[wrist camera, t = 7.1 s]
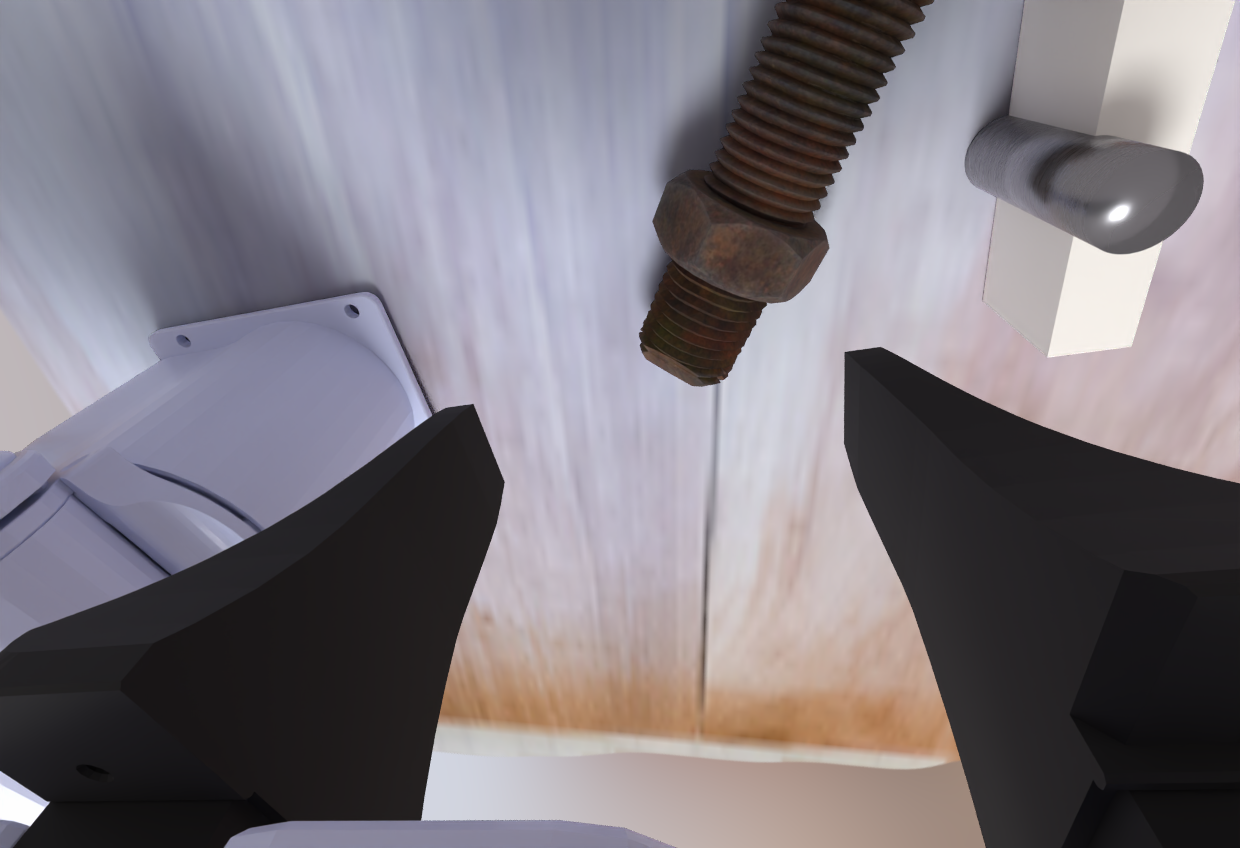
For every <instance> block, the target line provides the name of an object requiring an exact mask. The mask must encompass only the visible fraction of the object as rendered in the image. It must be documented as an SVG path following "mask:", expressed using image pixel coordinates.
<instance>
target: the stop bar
mask: <svg viewBox="0 0 1240 848" xmlns="http://www.w3.org/2000/svg"><path fill="white" fill-rule="evenodd" d="M1234 3H1235V0H1025V2H1024V9H1023V16H1022V23H1021V30H1020V37H1019V44H1018V52H1017V59H1016V66H1015V73H1014V80H1013V87H1012V94H1011V101H1010V109H1009V115H1008V116H1004V117H1001V118H999V119H996V120H995V121H993V122H991V123H990V124H988V125H987V126H986V127H984V128H983V129H982V130H981V131H980V132H979V133H978V135H977V136H976V137H975V138H974V140H973V141H972V143H971V145H970V147H969V149H968V152H967V155H966V160H965V170H966V174H967V177H968V179H969V180H970V182H971V183H972V184H973V185H974V186H976V187H977V188H979V189H981V190H983V191H985V192H987V193H989V194H991V195H993V196H995V197H997V201H996V208H995V215H994V223H993V230H992V237H991V244H990V251H989V258H988V265H987V272H986V280H985V287H984V294H983V302H984V303H985V304H986V305H987V306H988V307H990V308H991V309H992V310H993V311H994V312H995V313H997V314H998V315H999V316H1000V317H1001V318H1002V319H1003V320H1005V321H1006V322H1007V323H1008V324H1009V325H1010V326H1012V327H1013V328H1014V329H1015V330H1016V331H1017V332H1018V333H1020V334H1021V335H1022V336H1023V337H1024V338H1025V339H1026V340H1028V341H1029V342H1030V343H1031V344H1032V345H1033V346H1035V347H1036V348H1037V349H1038V350H1039V351H1040V352H1041V353H1043V354H1044V355H1045V356H1046V357H1047V358H1048V357H1056V356H1064V355H1071V354H1079V353H1087V352H1094V351H1102V350H1109V349H1117V348H1125V347H1131V346H1132V343H1133V339H1134V336H1135V333H1136V329H1137V326H1138V323H1139V319H1140V316H1141V313H1142V309H1143V306H1144V303H1145V299H1146V296H1147V293H1148V289H1149V286H1150V283H1151V279H1152V276H1153V273H1154V269H1155V266H1156V263H1157V259H1158V256H1159V253H1160V249H1161V246H1162V243H1163V240H1165V239H1167V238H1168V237H1169V236H1171V235H1172V234H1173V233H1174V232H1176V231H1177V230H1178V229H1179V228H1180V227H1181V226H1182V225H1183V224H1184V223H1185V222H1186V220H1187V219H1188V218H1189V217H1190V215H1191V214H1192V212H1193V211H1194V209H1195V208H1196V206H1197V204H1198V202H1199V199H1200V197H1201V194H1202V190H1203V182H1204V181H1203V173H1202V169H1201V167H1200V165H1199V163H1198V162H1197V161H1196V160H1195V159H1194V158H1193V157H1192V156H1190V155H1189V153H1190V149H1191V146H1192V143H1193V139H1194V136H1195V133H1196V129H1197V126H1198V123H1199V119H1200V116H1201V113H1202V109H1203V106H1204V103H1205V99H1206V96H1207V93H1208V89H1209V86H1210V83H1211V79H1212V76H1213V73H1214V69H1215V66H1216V63H1217V59H1218V56H1219V53H1220V49H1221V46H1222V43H1223V39H1224V36H1225V33H1226V29H1227V26H1228V23H1229V19H1230V16H1231V13H1232V9H1233V6H1234Z"/></svg>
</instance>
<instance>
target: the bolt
mask: <svg viewBox="0 0 1240 848" xmlns="http://www.w3.org/2000/svg"><path fill="white" fill-rule="evenodd" d="M933 2H934V0H786V2H782V3H777V4H776V6H775V10H776V13H777V15H778V18H779V19H775V20H772V21H769V22H768V24H767V25H768V27H769V29H770V31H771V33H772V36H767V37H762V39H761V42H762V45H763V47H764V49H765V51H760V52H756V53H755V57H756V59H757V60H758V62H759V65H758V66H753V67H750V69H749V70H750V72H751V74H752V76H753V80H751V81H746V82H744V83H743V84H742V85H743V86H744V88H745V90H746V92H747V94H746V95H742V96H738V97H737V100H738V102H739V104H740V106H741V108H740V109H736V110H732V113H731V114H732V116H733V118H734V120H735V122H732V123H728V124H726V129H727V131H728V133H729V134H730V135H728V136H725V137H722V138H720V140H721V143H722V145H723V147H724V148H722V149H720V150H717V151H715V154H716V156H717V158H718V160H719V161H716V162H713V163H711V164H709V165H710V168H711V170H712V172H711V171H705V170H689V171H687V172H684V173H682V174H680V175H679V176H677V177H676V178H674V179H673V180H671V181H670V182H668V183H667V184H666V187H665V190H664V192H663V195H662V198H661V200H660V203H659V205H658V208H657V211H656V213H655V216H654V219H653V224H654V227H655V230H656V233H657V236H658V238H659V241H660V243H661V245H662V247H663V249H664V251H665V252H666V253H667V254H668V255H669V256H670V257H671V259H672V262H671V263H669V264H668V265H667V270H668V272H666V273H664V275H663V281H662V282H661V283H660V284H659V291H658V292H657V293H656V294H655V300H654V301H653V302H652V304H651V310H650V311H648V315H647V318H646V319H645V320H644V322H643V327H642V328H641V331H643V332H640V333H639V337H640V340H641V342H642V343H641V344H640V347H641V350H642V353H643V355H644V356H645V358H646V359H647V360H648V361H650V362H652V363H653V364H655V365H657V366H658V367H660V368H662V369H663V370H665V371H667V372H668V373H670V374H672V375H674V376H675V377H677V378H679V379H681V380H683V381H684V382H686V383H688V384H690V385H691V386H701V387H702V386H707V385H713V384H717V383H720V381H719V380H724V379H725V378H727V377H728V373H729V372H730V371H731V370H732V367H733V364H734V363H735V361H736V358H737V355H738V354H739V353H740V352H741V347H743V346H744V345H745V342H746V340H747V338H748V337H749V336H750V333H751V331H752V328H753V327H754V326H755V325H756V319H758V318H760V315H761V313H762V309H763V308H764V307H766V306H767V303H779V302H786V301H788V300H790V299H792V298H793V297H794V296H796V295H797V294H798V293H799V292H800V291H801V290H802V289H803V288H804V287H805V286H806V285H807V284H808V283H809V282H810V281H811V279H812V277H813V275H814V274H815V272H816V270H817V268H818V267H819V265H820V263H821V262H822V260H823V258H824V256H825V255H826V253H827V251H828V249H829V244H828V240H827V236H826V233H825V230H824V229H823V228H822V227H821V226H820V225H819V224H818V223H817V222H816V221H815V220H814V215H813V213H812V211H815V210H818V209H820V207H821V205H820V202H819V200H818V199H821V198H824V197H826V196H827V191H826V188H825V186H828V185H832V184H834V179H833V176H832V173H836V172H840V171H841V169H842V167H841V165H840V163H839V161H838V160H842V159H846V158H848V156H849V153H848V151H847V149H846V146H850V145H855V143H856V138H855V136H854V134H853V132H858V131H862V130H863V129H864V125H863V123H862V121H861V119H860V118H864V117H868V116H871V114H872V111H871V110H870V108H869V106H868V104H870V103H873V102H877V101H878V100H879V99H880V97H879V95H878V93H877V91H876V90H875V89H877V88H880V87H883V86H886V85H887V83H888V82H887V80H886V79H885V77H884V75H883V73H886V72H889V71H892V70H894V69H895V67H896V66H895V64H894V63H893V61H892V59H891V57H894V56H897V55H900V54H903V53H904V52H905V49H904V47H903V46H902V44H901V42H900V41H903V40H907V39H911V38H913V37H914V36H915V32H914V31H913V29H912V28H911V26H910V25H912V24H915V23H918V22H921V21H923V20H924V19H925V15H924V14H923V12H922V11H921V9H920V7H922V6H925V5H929V4H932V3H933Z"/></svg>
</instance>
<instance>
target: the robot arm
mask: <svg viewBox="0 0 1240 848" xmlns="http://www.w3.org/2000/svg"><path fill="white" fill-rule="evenodd" d="M349 304H351V305H354V306H356V307H357V309H358V310H359V314H356V313H354V312H353V311H352V310H351V309H350V305H349ZM184 336H186V337H187V338H188V339H189V340H190V342H189V341H188V340H187V339H186V338H185V337H184ZM148 341H149V344H150V346H151V348H152V349H153V351H154V352H155V353H156V355H157V356H158V358H159V359H160V360H161V361H159V362H158V363H156V364H154V365H153V366H151V367H150V368H148V369H147V370H145V371H143V372H142V373H140V374H139V375H137V376H135V377H134V378H132V379H131V380H129V381H128V382H126V383H124V384H123V385H121V386H120V387H118V388H116V389H115V390H113V391H112V392H110V393H109V394H107V395H105V396H104V397H102V398H101V399H99V400H97V401H96V402H94V403H93V404H91V405H90V406H88V407H86V408H85V409H83V410H82V411H80V412H78V413H77V414H75V415H74V416H72V417H71V418H69V419H68V420H66V421H64V422H63V423H61V424H59V425H58V426H56V427H55V428H53V429H52V430H50V431H48V432H47V433H46V434H44V435H42V436H41V437H39V438H37V439H36V440H34V441H33V442H32V443H30V444H29V445H28V446H27V447H25V448H24V449H23V450H22V451H19V452H16V453H12V452H10V451H0V848H676V847H673V846H670V845H668V844H665V843H663V842H660V841H658V840H655V839H652V838H650V837H647V836H645V835H642V834H639V833H637V832H634V831H632V830H629V829H626V828H622V827H613V826H604V825H595V824H587V823H579V822H570V821H562V820H505V821H504V820H494V821H493V820H492V821H491V820H486V821H484V820H481V821H480V820H478V821H475V820H474V821H471V820H470V821H421V818H422V810H423V803H424V796H425V790H426V784H427V779H428V773H429V767H430V761H431V755H432V750H433V744H434V738H435V733H436V728H437V724H438V719H439V714H440V709H441V704H442V699H443V695H444V690H445V685H446V681H447V677H448V673H449V668H450V664H451V660H452V656H453V652H454V648H455V643H456V639H457V636H458V633H459V630H460V626H461V623H462V620H463V617H464V614H465V611H466V609H467V606H468V603H469V600H470V597H471V595H472V592H473V589H474V586H475V584H476V581H477V578H478V575H479V573H480V570H481V567H482V564H483V562H484V559H485V556H486V553H487V550H488V548H489V545H490V542H491V539H492V536H493V533H494V530H495V527H496V524H497V520H498V515H499V510H500V506H501V500H502V494H503V488H504V483H505V482H504V479H503V477H502V474H501V472H500V469H499V467H498V464H497V462H496V459H495V457H494V454H493V452H492V449H491V447H490V444H489V442H488V439H487V437H486V434H485V432H484V429H483V427H482V424H481V422H480V419H479V417H478V414H477V412H476V409H475V407H474V404H470V405H463V406H456V407H449V408H445V409H443V410H441V411H439V412H437V413H436V414H434V415H433V416H432V414H431V411H430V409H429V407H428V405H427V403H426V400H425V398H424V396H423V394H422V391H421V389H420V387H419V385H418V383H417V380H416V378H415V376H414V374H413V371H412V369H411V367H410V365H409V363H408V360H407V358H406V356H405V354H404V351H403V349H402V347H401V345H400V343H399V340H398V338H397V336H396V334H395V331H394V329H393V327H392V325H391V323H390V320H389V318H388V316H387V314H386V311H385V309H384V307H383V305H382V303H381V301H380V300H379V298H378V297H376V296H375V295H374V294H372V293H369V292H360V293H354V294H349V295H343V296H338V297H333V298H327V299H322V300H316V301H311V302H305V303H300V304H294V305H289V306H284V307H278V308H273V309H267V310H262V311H256V312H251V313H245V314H240V315H235V316H229V317H224V318H218V319H213V320H207V321H202V322H196V323H191V324H186V325H180V326H175V327H169V328H164V329H159V330H157V331H155V332H153V333H152V334H150V335H149V337H148ZM844 445H845V448H846V452H847V455H848V459H849V462H850V466H851V469H852V472H853V475H854V479H855V482H856V485H857V488H858V490H859V493H860V495H861V497H862V499H863V501H864V504H865V506H866V508H867V510H868V512H869V515H870V517H871V519H872V521H873V523H874V525H875V527H876V530H877V532H878V534H879V536H880V538H881V540H882V542H883V545H884V547H885V549H886V551H887V553H888V555H889V557H890V559H891V562H892V564H893V566H894V568H895V570H896V572H897V574H898V577H899V579H900V581H901V583H902V585H903V587H904V590H905V592H906V595H907V597H908V600H909V602H910V604H911V607H912V609H913V612H914V615H915V618H916V621H917V624H918V627H919V630H920V633H921V636H922V639H923V642H924V645H925V648H926V651H927V654H928V656H929V659H930V662H931V666H932V669H933V672H934V675H935V678H936V681H937V684H938V688H939V691H940V694H941V697H942V700H943V703H944V706H945V709H946V713H947V716H948V719H949V722H950V725H951V729H952V732H953V736H954V739H955V742H956V746H957V749H958V752H959V756H960V759H961V762H962V766H963V769H964V772H965V776H966V779H967V782H968V786H969V789H970V793H971V796H972V800H973V803H974V807H975V810H976V814H977V818H978V821H979V825H980V828H981V832H982V835H983V839H984V842H985V846H986V848H1240V483H1235V482H1231V481H1226V480H1221V479H1217V478H1213V477H1209V476H1204V475H1200V474H1196V473H1192V472H1188V471H1184V470H1180V469H1176V468H1172V467H1168V466H1165V465H1161V464H1158V463H1154V462H1151V461H1147V460H1144V459H1140V458H1137V457H1133V456H1130V455H1126V454H1122V453H1119V452H1115V451H1112V450H1109V449H1106V448H1103V447H1100V446H1097V445H1093V444H1090V443H1087V442H1084V441H1082V440H1079V439H1076V438H1073V437H1071V436H1068V435H1065V434H1062V433H1060V432H1057V431H1054V430H1051V429H1048V428H1046V427H1043V426H1040V425H1038V424H1035V423H1033V422H1030V421H1028V420H1025V419H1023V418H1021V417H1018V416H1016V415H1014V414H1012V413H1009V412H1007V411H1005V410H1003V409H1000V408H998V407H996V406H994V405H992V404H989V403H987V402H985V401H983V400H981V399H979V398H977V397H975V396H973V395H971V394H969V393H967V392H965V391H963V390H961V389H959V388H957V387H955V386H953V385H951V384H949V383H947V382H945V381H943V380H942V379H940V378H938V377H936V376H934V375H932V374H930V373H929V372H927V371H925V370H923V369H921V368H920V367H918V366H916V365H914V364H912V363H911V362H909V361H907V360H905V359H903V358H901V357H900V356H898V355H896V354H894V353H892V352H890V351H888V350H886V349H884V348H882V347H877V348H870V349H863V350H856V351H849V352H845V385H844Z"/></svg>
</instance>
